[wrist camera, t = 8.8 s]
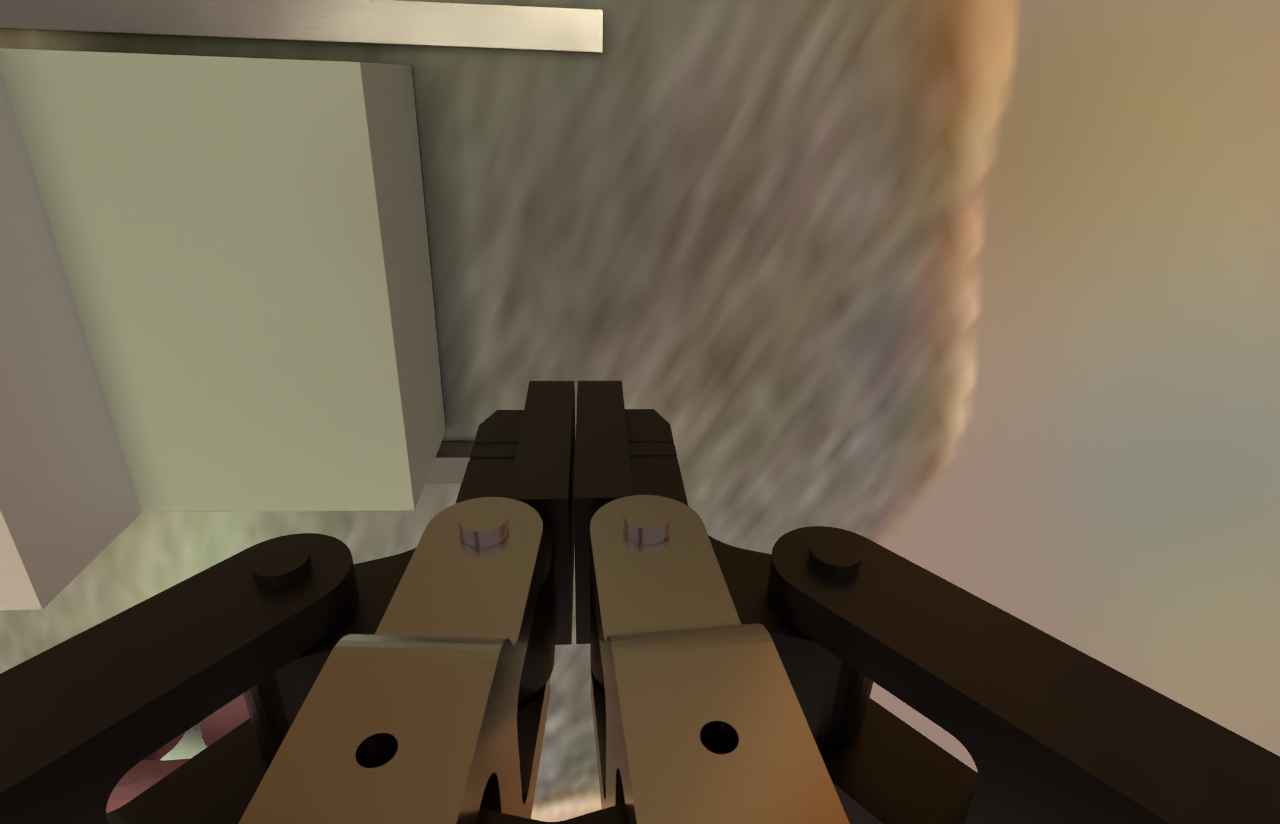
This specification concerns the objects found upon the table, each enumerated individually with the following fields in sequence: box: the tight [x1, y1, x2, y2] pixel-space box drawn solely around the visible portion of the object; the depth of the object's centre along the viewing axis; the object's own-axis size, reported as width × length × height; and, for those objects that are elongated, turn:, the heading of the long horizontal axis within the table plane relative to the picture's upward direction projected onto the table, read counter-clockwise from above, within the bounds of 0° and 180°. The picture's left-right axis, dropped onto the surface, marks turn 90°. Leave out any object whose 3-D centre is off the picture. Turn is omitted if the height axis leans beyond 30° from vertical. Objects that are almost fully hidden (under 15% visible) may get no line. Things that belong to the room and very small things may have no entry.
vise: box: [0, 0, 603, 483], centre depth 18 cm, size 15×26×9 cm, turn 88°
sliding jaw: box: [0, 48, 446, 610], centre depth 18 cm, size 12×9×9 cm
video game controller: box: [106, 694, 250, 813], centre depth 27 cm, size 10×5×7 cm, turn 87°
